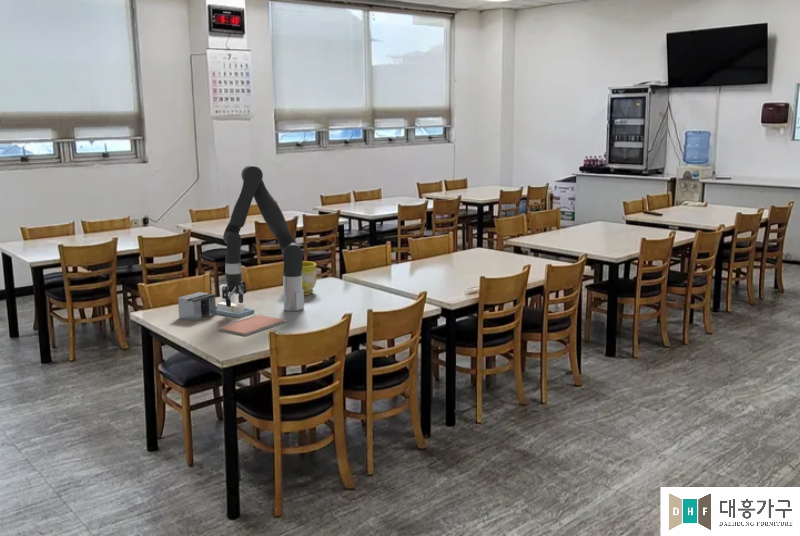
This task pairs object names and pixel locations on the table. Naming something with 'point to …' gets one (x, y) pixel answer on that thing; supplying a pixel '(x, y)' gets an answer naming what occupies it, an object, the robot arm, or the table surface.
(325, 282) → the table surface
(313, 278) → the flowerpot
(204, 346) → the table surface
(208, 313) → the dispenser
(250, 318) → the notebook
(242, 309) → the cream rectangular block
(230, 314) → the tray
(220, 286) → the white cup
